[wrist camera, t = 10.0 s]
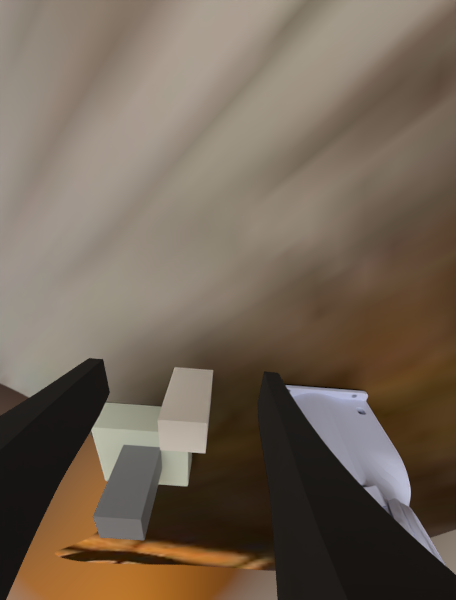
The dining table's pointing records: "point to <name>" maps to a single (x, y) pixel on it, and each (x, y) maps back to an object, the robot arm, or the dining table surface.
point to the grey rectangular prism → (129, 494)
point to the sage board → (136, 440)
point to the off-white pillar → (186, 411)
